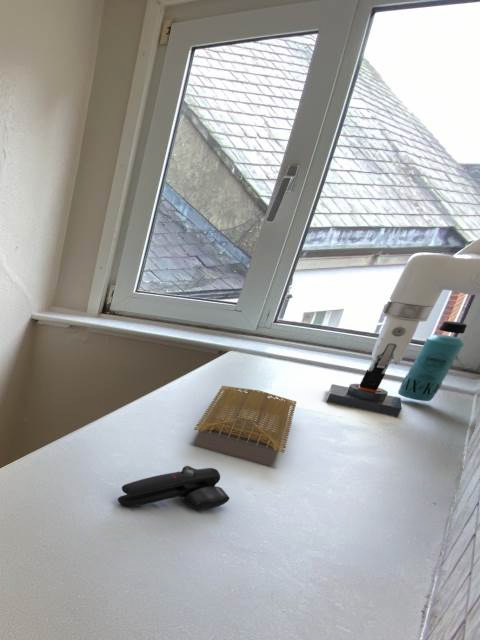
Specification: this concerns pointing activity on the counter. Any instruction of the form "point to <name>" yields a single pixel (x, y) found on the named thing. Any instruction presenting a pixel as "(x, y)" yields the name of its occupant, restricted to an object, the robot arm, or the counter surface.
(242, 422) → the rafter model
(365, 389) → the button
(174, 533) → the counter surface
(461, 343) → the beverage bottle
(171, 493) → the can opener
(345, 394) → the switch box
